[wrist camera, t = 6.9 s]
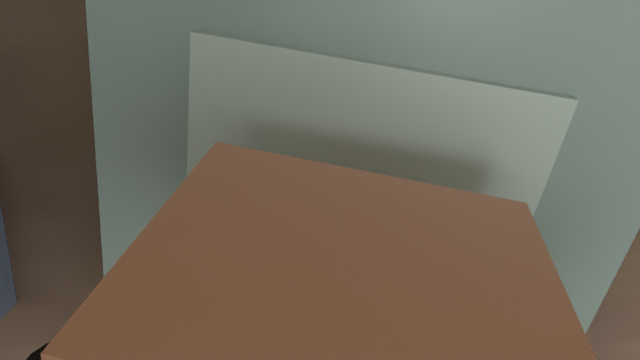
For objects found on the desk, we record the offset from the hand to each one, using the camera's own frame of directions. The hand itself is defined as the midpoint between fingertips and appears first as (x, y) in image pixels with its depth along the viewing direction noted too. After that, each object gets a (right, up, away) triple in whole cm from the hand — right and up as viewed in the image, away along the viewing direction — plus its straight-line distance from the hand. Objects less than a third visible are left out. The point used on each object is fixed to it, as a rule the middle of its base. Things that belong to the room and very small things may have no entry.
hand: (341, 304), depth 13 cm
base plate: (+1, +2, +4) cm, 5 cm away
